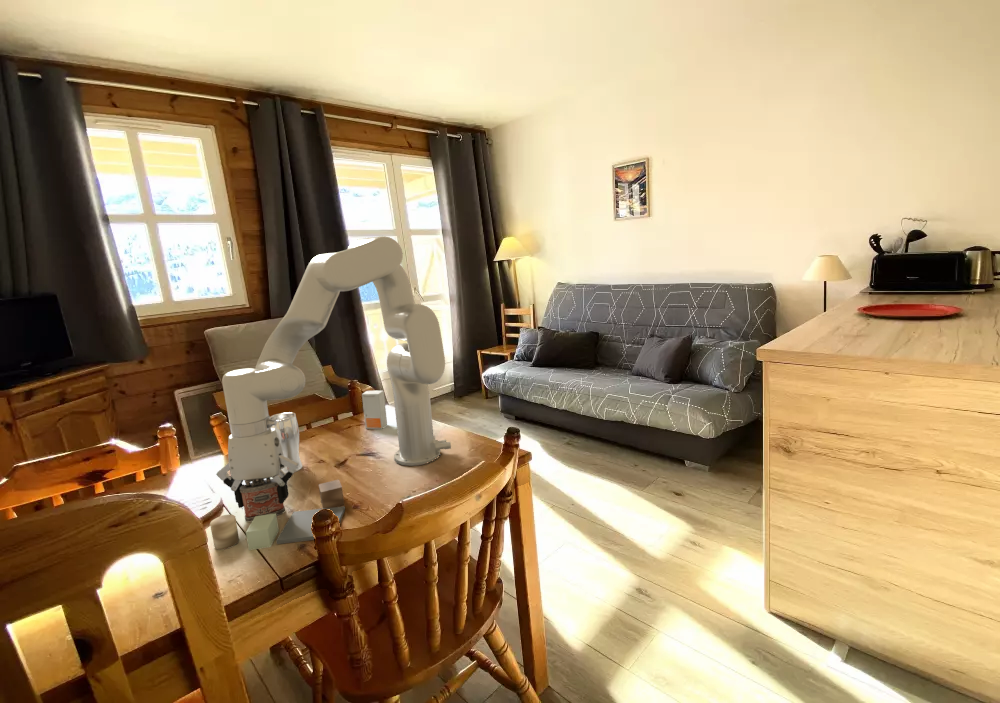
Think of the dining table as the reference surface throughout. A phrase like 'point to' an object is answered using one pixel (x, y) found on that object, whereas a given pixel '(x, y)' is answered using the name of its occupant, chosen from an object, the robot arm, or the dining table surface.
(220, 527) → the beech cylinder
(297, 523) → the coaster
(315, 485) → the dining table surface
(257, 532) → the sage block
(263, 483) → the lighter
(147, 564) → the dining table surface
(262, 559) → the dining table surface
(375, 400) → the skincare box
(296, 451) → the beer glass
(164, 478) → the dining table surface
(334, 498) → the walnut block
